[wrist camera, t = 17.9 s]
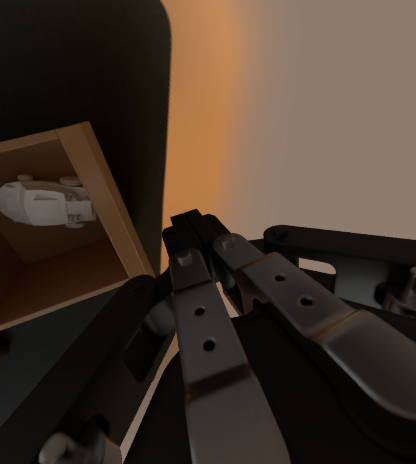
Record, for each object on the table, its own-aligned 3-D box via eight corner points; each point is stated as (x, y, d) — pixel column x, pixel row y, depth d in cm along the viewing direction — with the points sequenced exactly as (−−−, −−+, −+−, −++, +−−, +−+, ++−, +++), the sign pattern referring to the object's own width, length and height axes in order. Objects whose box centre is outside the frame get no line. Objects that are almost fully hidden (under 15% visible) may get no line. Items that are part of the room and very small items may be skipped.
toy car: (99, 221, 25) (95, 238, 21) (8, 221, 22) (-13, 240, 19) (96, 177, 23) (91, 188, 20) (-4, 171, 20) (-31, 182, 17)
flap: (78, 122, 8) (89, 120, 8) (57, 129, 13) (65, 127, 13) (171, 329, 14) (176, 325, 14) (135, 286, 19) (139, 283, 19)
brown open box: (-61, 157, 19) (-195, 187, 11) (86, 122, 21) (63, 126, 13) (25, 267, 25) (-21, 338, 17) (133, 231, 27) (137, 280, 19)
